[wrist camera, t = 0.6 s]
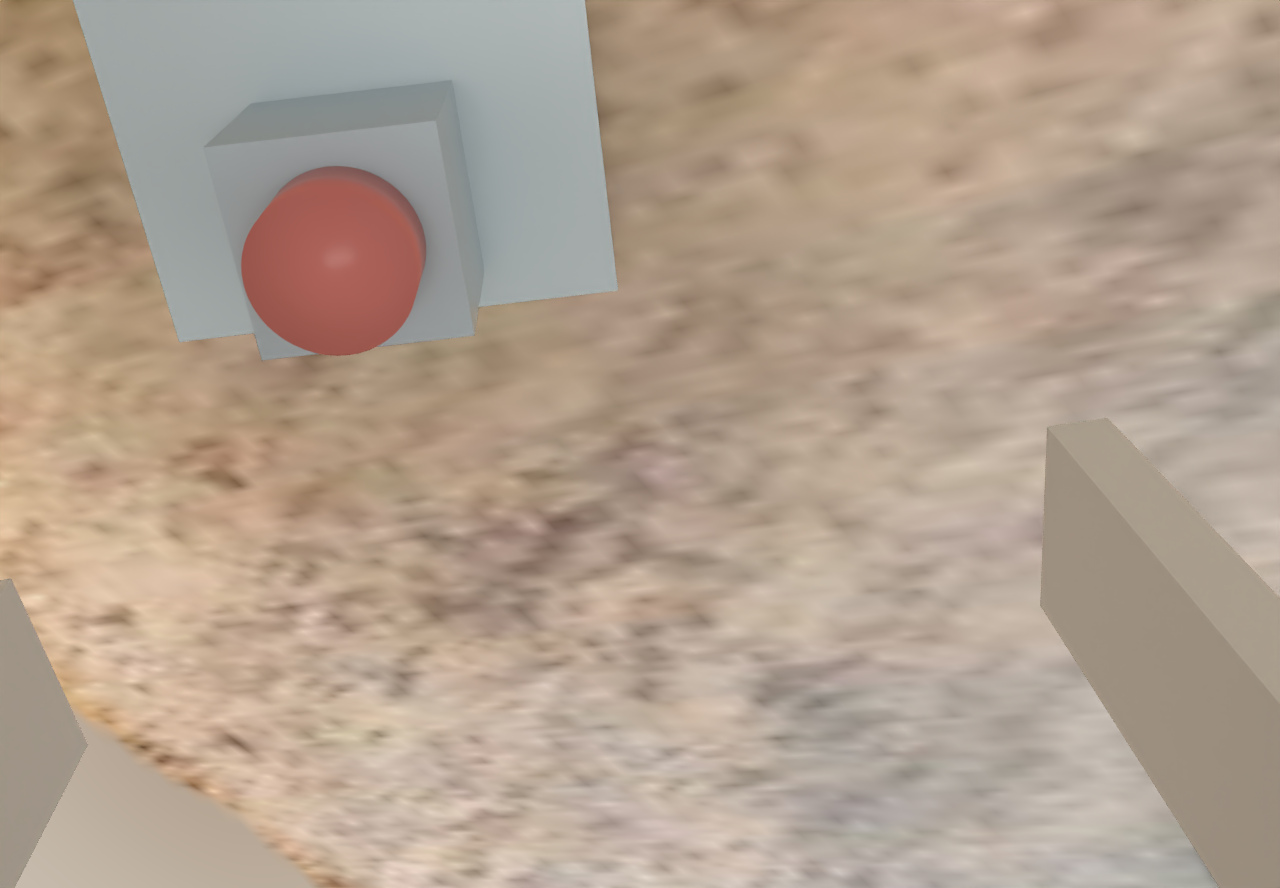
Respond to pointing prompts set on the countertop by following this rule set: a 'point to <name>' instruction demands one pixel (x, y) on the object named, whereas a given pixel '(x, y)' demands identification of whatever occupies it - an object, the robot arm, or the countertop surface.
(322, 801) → the countertop surface
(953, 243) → the countertop surface
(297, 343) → the plunger
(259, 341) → the frame
